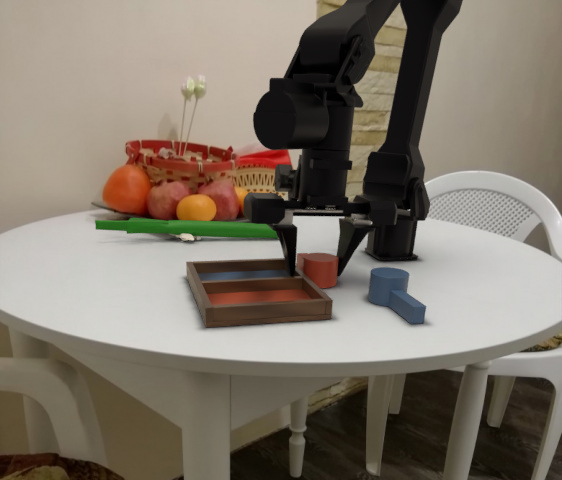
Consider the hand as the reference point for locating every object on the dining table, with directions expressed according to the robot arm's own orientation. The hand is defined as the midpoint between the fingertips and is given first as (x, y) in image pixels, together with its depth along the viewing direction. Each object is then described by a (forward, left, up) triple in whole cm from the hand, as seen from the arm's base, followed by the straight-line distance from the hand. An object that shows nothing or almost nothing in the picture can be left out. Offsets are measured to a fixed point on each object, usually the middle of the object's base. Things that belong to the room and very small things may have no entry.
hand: (314, 276), depth 72 cm
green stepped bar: (+13, -26, -1) cm, 29 cm away
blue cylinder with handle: (-7, +11, -1) cm, 13 cm away
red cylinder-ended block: (-1, -3, -1) cm, 3 cm away
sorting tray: (+9, +4, -1) cm, 10 cm away
